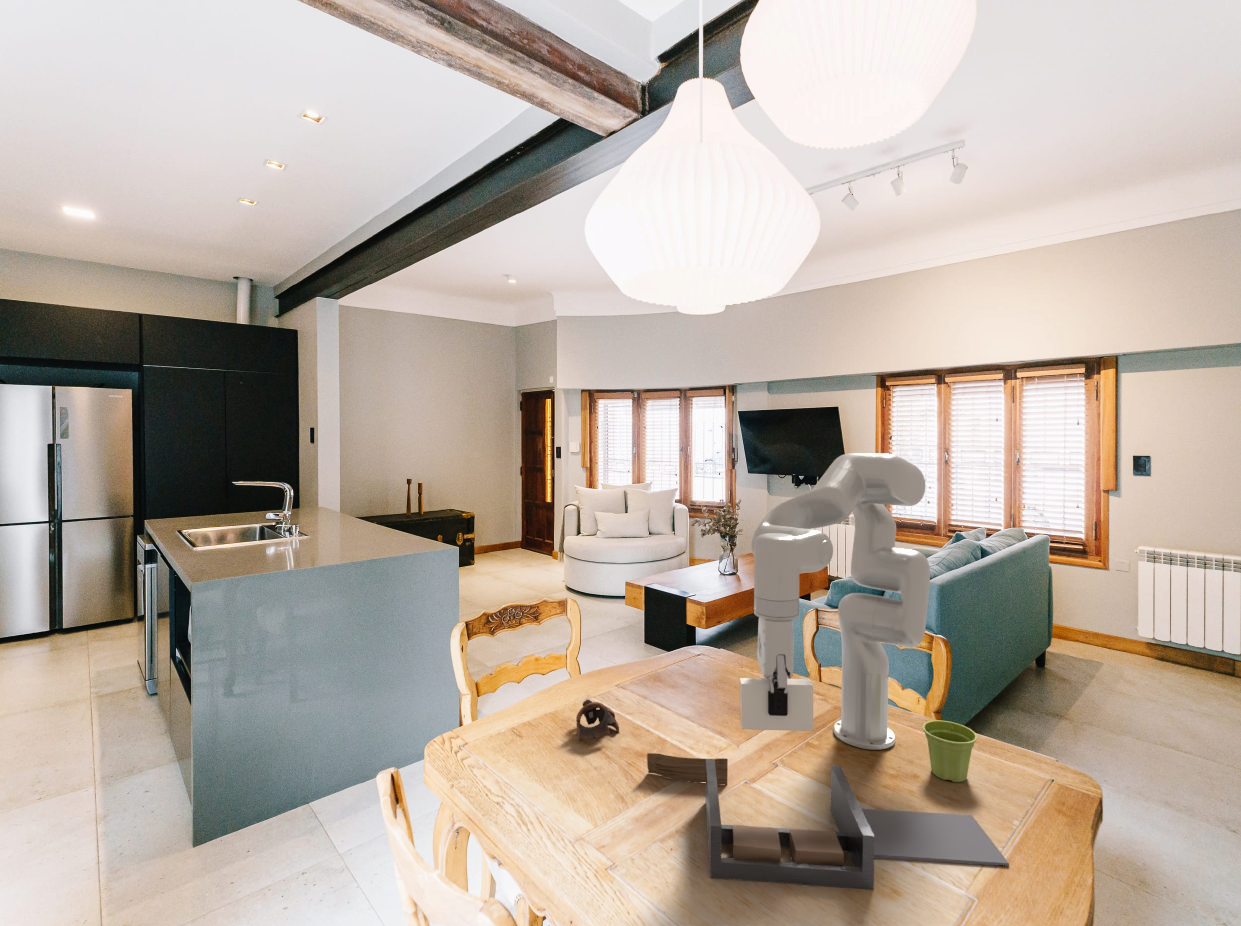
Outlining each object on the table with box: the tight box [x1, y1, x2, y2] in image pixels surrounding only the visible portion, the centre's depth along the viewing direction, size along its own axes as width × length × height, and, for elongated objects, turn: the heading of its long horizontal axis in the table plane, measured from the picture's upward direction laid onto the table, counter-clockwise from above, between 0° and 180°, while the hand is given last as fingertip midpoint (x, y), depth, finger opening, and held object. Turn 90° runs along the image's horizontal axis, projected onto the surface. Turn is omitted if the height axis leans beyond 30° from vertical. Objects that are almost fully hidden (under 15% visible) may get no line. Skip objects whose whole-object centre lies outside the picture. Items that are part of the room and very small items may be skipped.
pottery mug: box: [575, 699, 620, 741], centre depth 135 cm, size 12×10×8 cm
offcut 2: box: [788, 828, 845, 866], centre depth 93 cm, size 5×7×4 cm
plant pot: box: [922, 719, 978, 783], centre depth 119 cm, size 9×9×9 cm
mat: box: [861, 808, 1010, 867], centre depth 100 cm, size 12×20×1 cm, turn 84°
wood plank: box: [646, 752, 729, 786], centre depth 117 cm, size 15×2×5 cm, turn 80°
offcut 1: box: [732, 823, 782, 862], centre depth 94 cm, size 5×7×4 cm
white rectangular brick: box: [739, 677, 815, 732], centre depth 105 cm, size 2×12×8 cm, turn 84°
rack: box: [705, 758, 875, 890], centre depth 99 cm, size 19×24×8 cm
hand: (776, 709), depth 105 cm, fingers closed on white rectangular brick, 2 cm apart
